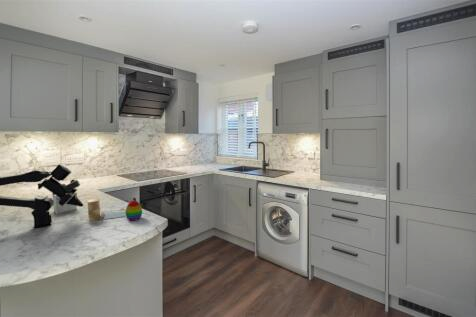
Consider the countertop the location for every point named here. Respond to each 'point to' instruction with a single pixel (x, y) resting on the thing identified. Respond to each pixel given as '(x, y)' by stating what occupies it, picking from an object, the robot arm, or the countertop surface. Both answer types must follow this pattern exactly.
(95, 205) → the oak block
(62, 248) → the countertop surface
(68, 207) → the light bulb box
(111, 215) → the slate mat
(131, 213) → the decorative egg
